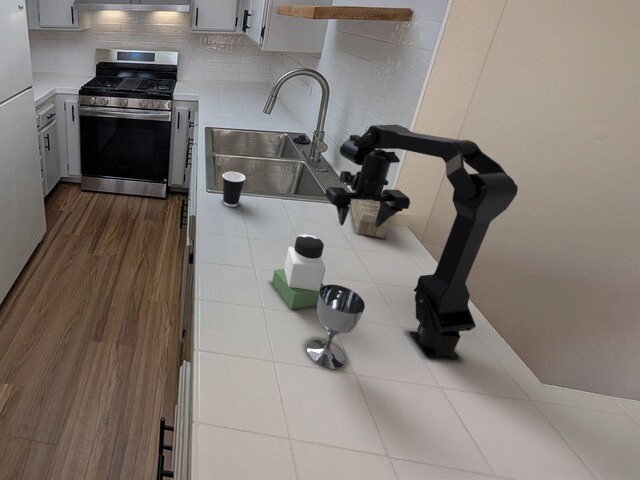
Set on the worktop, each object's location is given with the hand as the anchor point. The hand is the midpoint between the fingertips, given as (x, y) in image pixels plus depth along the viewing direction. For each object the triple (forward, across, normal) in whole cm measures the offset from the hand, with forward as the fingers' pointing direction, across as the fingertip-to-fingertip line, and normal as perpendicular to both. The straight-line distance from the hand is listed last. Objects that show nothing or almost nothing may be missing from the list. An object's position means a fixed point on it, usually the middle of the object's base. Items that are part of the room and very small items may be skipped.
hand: (358, 225), depth 103 cm
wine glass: (+13, +18, +31) cm, 38 cm away
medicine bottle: (+9, +18, +13) cm, 24 cm away
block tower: (+13, -18, -28) cm, 36 cm away
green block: (+13, +18, +13) cm, 26 cm away
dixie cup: (+13, +27, -33) cm, 45 cm away
